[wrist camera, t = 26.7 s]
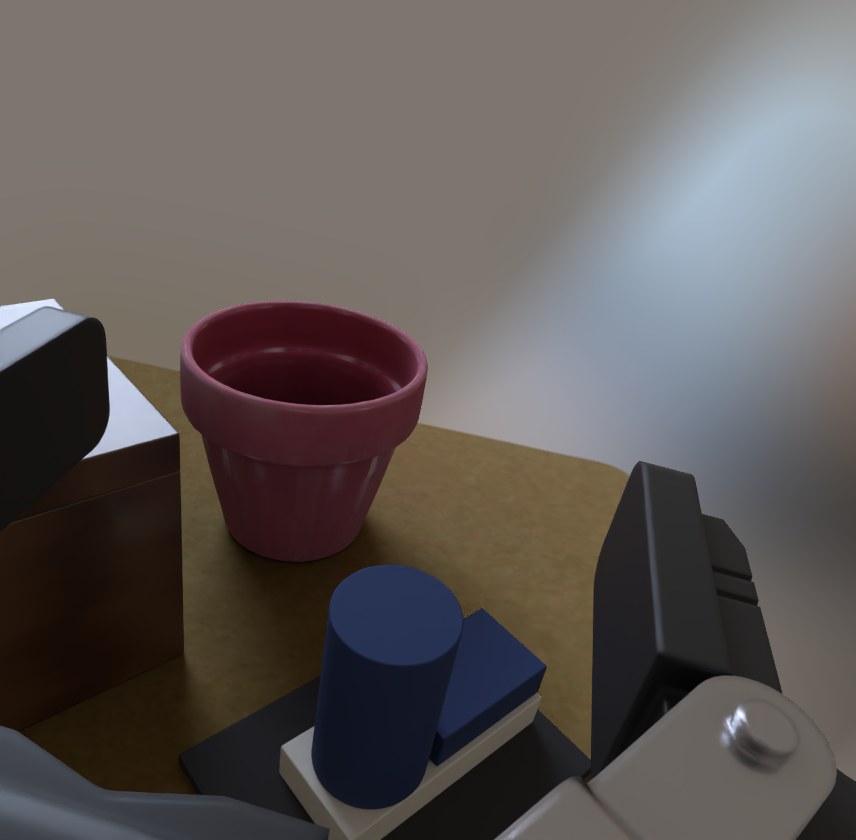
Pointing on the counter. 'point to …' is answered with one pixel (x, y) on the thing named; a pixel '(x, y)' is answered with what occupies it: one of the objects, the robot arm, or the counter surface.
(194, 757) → the shoe mat
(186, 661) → the counter surface
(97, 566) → the shoe bench
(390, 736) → the boot
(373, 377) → the flower pot
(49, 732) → the counter surface
